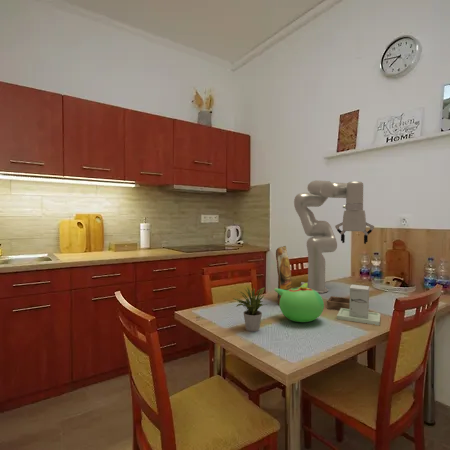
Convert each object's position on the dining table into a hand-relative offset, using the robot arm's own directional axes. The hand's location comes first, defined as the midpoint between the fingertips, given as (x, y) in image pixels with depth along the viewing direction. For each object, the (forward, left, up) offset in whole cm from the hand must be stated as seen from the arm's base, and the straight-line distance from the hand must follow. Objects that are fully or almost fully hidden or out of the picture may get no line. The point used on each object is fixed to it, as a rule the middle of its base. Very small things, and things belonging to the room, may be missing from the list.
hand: (354, 243), depth 146 cm
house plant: (-31, -50, -31) cm, 66 cm away
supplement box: (+4, -18, -30) cm, 35 cm away
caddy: (-5, -6, -30) cm, 31 cm away
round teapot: (-17, -33, -31) cm, 48 cm away
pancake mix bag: (-31, -9, -31) cm, 45 cm away
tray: (+4, -18, -30) cm, 35 cm away
